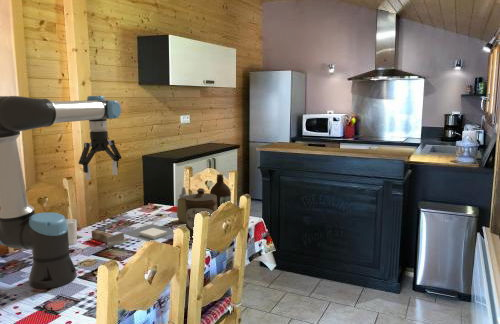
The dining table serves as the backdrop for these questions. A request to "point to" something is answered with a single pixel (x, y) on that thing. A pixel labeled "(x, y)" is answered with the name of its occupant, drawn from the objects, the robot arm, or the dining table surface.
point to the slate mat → (136, 232)
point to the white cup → (72, 231)
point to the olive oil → (221, 191)
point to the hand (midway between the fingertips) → (102, 177)
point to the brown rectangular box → (108, 238)
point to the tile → (153, 233)
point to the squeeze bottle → (182, 206)
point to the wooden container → (199, 206)
